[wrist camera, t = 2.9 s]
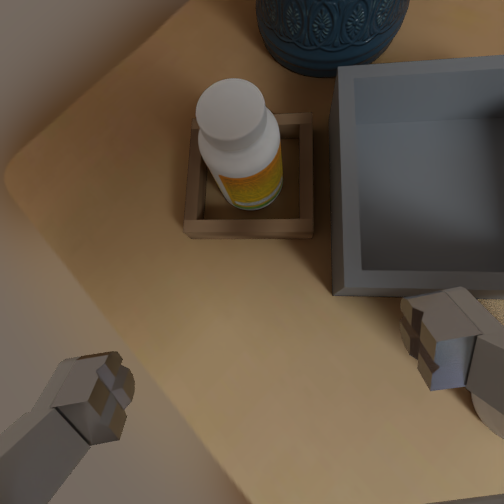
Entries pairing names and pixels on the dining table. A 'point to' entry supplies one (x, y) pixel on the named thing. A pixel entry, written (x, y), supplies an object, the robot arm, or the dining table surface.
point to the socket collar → (253, 228)
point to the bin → (418, 178)
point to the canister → (328, 32)
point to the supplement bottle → (240, 143)
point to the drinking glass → (489, 416)
